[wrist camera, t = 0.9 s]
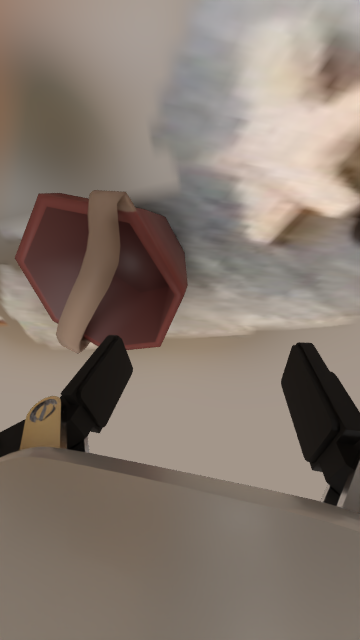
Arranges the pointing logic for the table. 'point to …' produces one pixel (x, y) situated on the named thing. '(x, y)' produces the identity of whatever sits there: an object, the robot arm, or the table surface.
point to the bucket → (103, 268)
